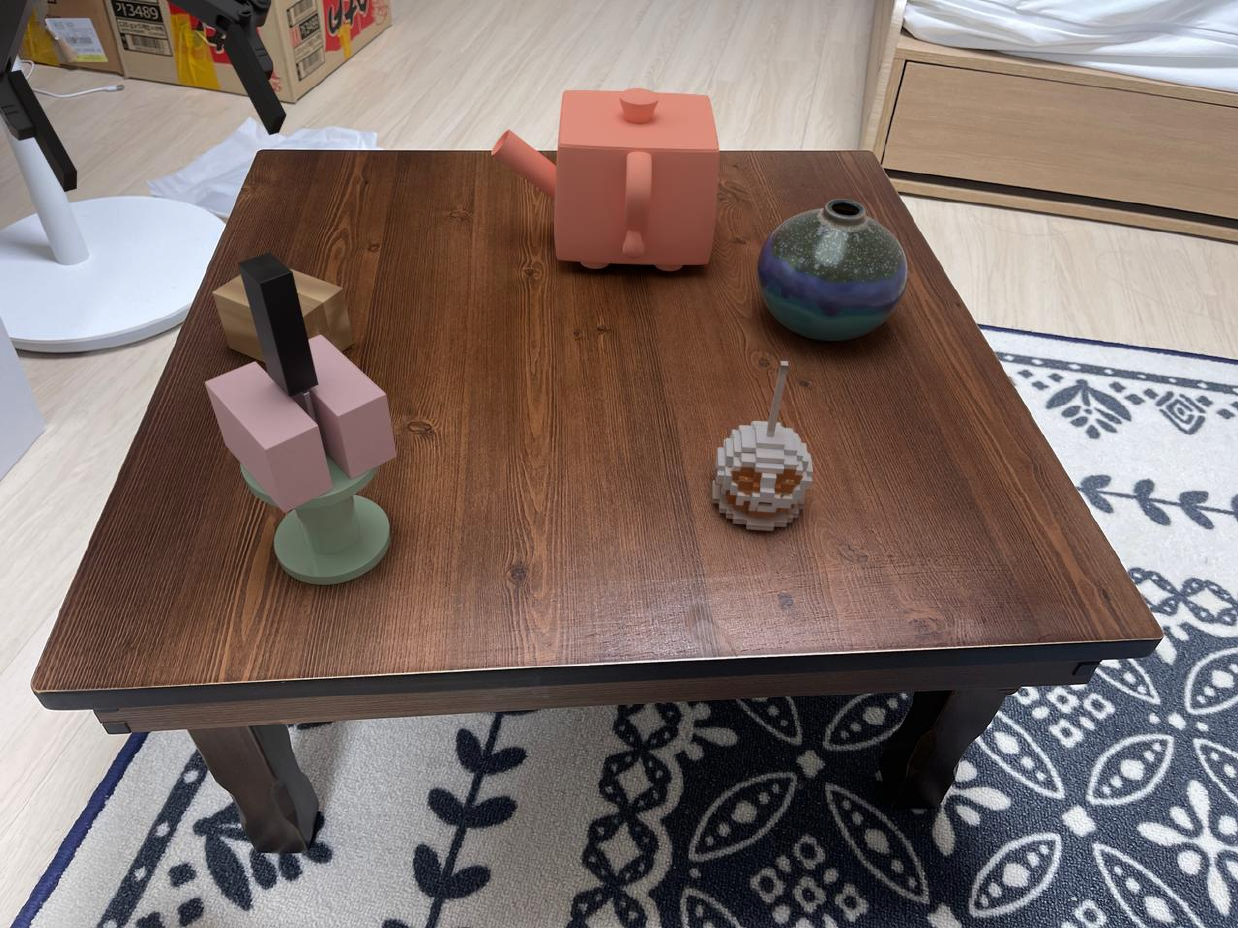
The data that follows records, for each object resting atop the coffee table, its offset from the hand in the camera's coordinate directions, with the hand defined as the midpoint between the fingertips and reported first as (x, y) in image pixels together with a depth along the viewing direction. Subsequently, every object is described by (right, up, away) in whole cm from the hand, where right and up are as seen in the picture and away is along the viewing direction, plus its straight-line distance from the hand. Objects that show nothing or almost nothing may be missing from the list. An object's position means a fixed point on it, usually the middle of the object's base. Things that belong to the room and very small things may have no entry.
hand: (180, 153), depth 60 cm
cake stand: (+5, -26, +15) cm, 31 cm away
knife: (+6, -19, +8) cm, 22 cm away
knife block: (-5, -8, +34) cm, 35 cm away
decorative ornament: (+40, -23, +21) cm, 51 cm away
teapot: (+26, +6, +51) cm, 58 cm away
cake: (+6, -19, +8) cm, 22 cm away
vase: (+50, -5, +41) cm, 65 cm away
